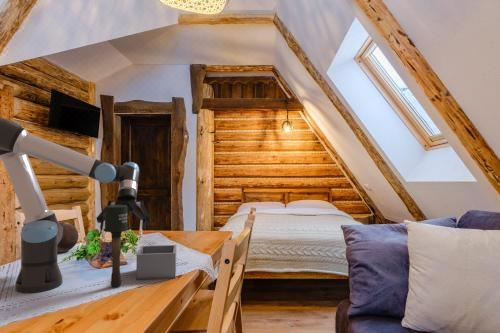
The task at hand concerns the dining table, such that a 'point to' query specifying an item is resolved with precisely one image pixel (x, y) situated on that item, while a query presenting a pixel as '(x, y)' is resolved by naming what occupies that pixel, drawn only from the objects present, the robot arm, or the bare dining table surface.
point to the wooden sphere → (67, 238)
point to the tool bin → (156, 262)
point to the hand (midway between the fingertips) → (121, 236)
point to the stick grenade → (116, 237)
